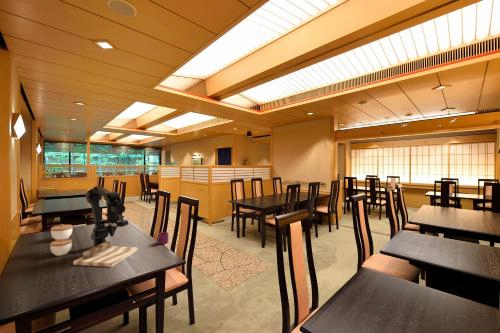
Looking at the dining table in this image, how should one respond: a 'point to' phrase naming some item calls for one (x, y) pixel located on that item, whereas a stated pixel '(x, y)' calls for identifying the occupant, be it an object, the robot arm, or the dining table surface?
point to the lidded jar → (61, 246)
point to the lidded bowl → (61, 231)
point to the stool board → (107, 256)
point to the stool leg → (96, 249)
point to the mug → (162, 238)
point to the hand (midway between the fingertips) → (112, 236)
